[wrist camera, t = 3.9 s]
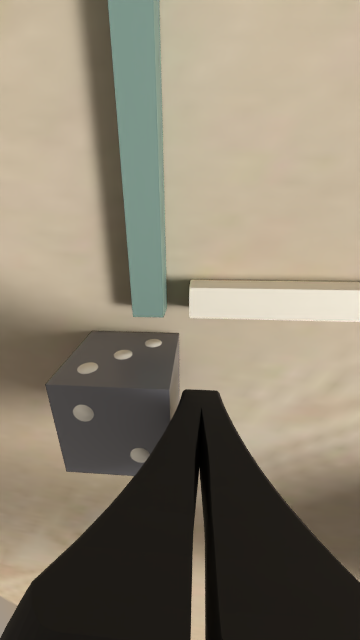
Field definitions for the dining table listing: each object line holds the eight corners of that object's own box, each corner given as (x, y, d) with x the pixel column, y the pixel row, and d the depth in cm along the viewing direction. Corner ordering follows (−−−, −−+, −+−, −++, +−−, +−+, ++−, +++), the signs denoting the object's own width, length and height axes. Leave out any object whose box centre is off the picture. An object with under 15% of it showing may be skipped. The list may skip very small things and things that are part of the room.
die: (179, 404, 14) (171, 478, 10) (102, 400, 14) (65, 471, 10) (179, 332, 12) (169, 389, 8) (91, 330, 12) (44, 384, 9)
